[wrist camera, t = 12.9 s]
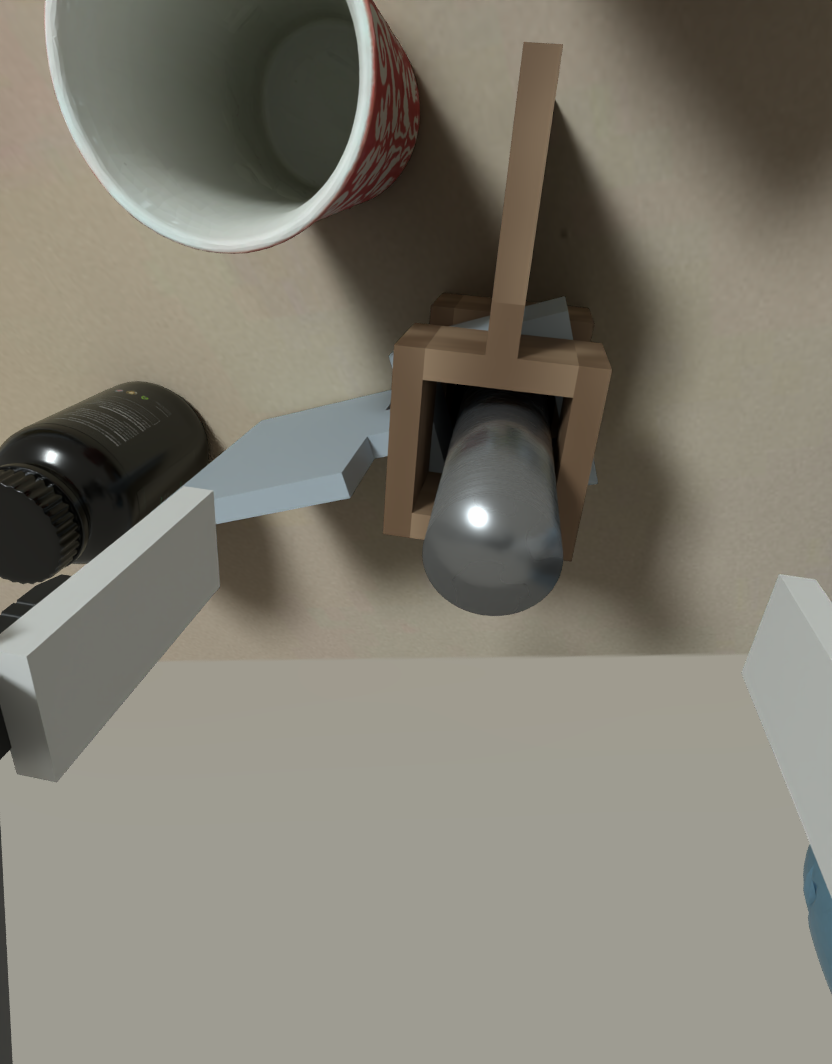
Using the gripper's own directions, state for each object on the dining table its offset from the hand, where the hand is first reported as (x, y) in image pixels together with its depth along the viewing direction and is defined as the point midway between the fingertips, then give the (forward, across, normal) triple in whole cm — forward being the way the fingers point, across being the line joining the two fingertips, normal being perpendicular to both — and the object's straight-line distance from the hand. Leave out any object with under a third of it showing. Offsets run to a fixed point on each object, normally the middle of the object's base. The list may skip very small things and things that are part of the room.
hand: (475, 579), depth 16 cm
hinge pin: (+20, 0, 0) cm, 20 cm away
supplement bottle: (+20, +19, +6) cm, 28 cm away
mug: (+20, +10, -12) cm, 25 cm away
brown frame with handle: (+20, 0, -4) cm, 20 cm away
